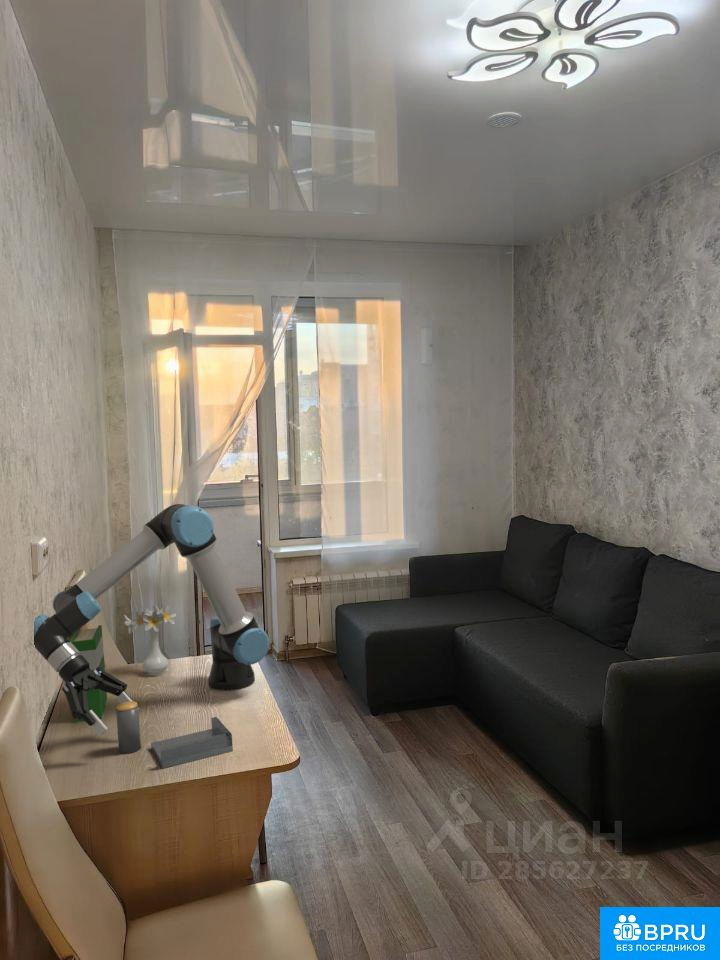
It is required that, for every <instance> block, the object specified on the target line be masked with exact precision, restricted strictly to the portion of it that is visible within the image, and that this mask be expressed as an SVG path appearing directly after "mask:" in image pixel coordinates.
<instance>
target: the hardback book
mask: <svg viewBox="0 0 720 960" xmlns="http://www.w3.org/2000/svg"><path fill="white" fill-rule="evenodd" d="M70 637H71V638H70V639H69V641H70V642H71V643H72V644H73V645H74V646H75V647H76V649H77V650H78V651H79V652H80V655H82V656H83V657H84V658H85V659H86V660H87V661H88V662H89V668H90V669H91V670H92V671H94V670H96V668H97V667H98V666H99V667H101V668H102V669H103V670H104V671H105V672H106V667H105V666H106V664H105V663H106V662H105V653H104V652H105V651H104V650H105V649H104V639H103V626H102V625H101V624H100V625H98V626H97V627H95V628H88V629H86V628H85V629H81V628H80V629H79V630H78V631H76V632H75V633H74V634H73V635H71V636H70ZM97 682H98V681H97ZM75 691H76V689H75ZM87 701H88V712H89V711H90V710H92V711H93V712H94V713H95V714H96V715H97V717H98V718H99V719H100V720H103V719H102V718H103V714H104V712H105V711H104V710H105V708H106V704H107V701H108V692H105V691H102V690H100V689H93V690H90V691H88V692H87ZM80 722H81V723H82V722H86V721H85V720H84V719H83V718H82V719H81V720H79V719H78V718H76V719H75V718H74V723H80Z"/></svg>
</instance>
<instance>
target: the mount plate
mask: <svg viewBox="0 0 720 960" xmlns="http://www.w3.org/2000/svg"><path fill="white" fill-rule="evenodd" d="M210 720H211V721H210V722H211V728H210V729H205V730H202V731H197V732H196V731H195V732H191V733H188V734H185V735H184V734H183V735H180V736H175V737H172V738H166V739H163V740H158V741H154V742H150V746H151V747H150V748H151V751H152V752H153V754H154V755H155V757H156V759H157V761H158V763H159V765H160V766H161V768H162V769H167V768H170V767H174V766H179V765H183V764H186V763H191V762H194V761H199V760H204V759H206V758H210V757H215V756H220V755H222V754H226V753H231V752H233V751H234V749H233V748H234V746H233V734H232V732H230V730H229V728H227V727H226V726H225V725H224V723H223V722H222V721H221V720H220V719H219V718H218V717H217V716H214V717H211V719H210Z"/></svg>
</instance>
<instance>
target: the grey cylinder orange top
mask: <svg viewBox="0 0 720 960" xmlns="http://www.w3.org/2000/svg"><path fill="white" fill-rule="evenodd" d="M138 708H139V705H138V702H137V701H133V700H132V701H129V702H123V703H120V702H119V704H117V705H116V709H115V714H116V715H115V716H116V727H117V729H116V730H117V741H118V742H117V743H118V752H119V753H120V754H124V755H125V754H126V755H127V754H128V755H129V754H132V753H137V752H138V751H140V750H141V748H142V745H141V744H142V743H141V742H142V741H141V731H140V730H141V727H140V714H139V710H138Z"/></svg>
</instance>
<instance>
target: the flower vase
mask: <svg viewBox="0 0 720 960" xmlns="http://www.w3.org/2000/svg"><path fill="white" fill-rule="evenodd" d="M152 609H153V610H150V609H149V607H147V608H146V609H145V611H142V612H141V613H140V612H139V611H138V610H136V611H135V613H134V614H135V615H134V616H135V619H130V618H129V617H128V616H127V615H126V614H124V617H125V621H124V625H125V626H126V627H128V635H130V634H131V633H132V632H133V627H134V631H135V632H137V631H138V629H140V626H144V625H145V624H146V625H145V627H144V630H145V631H146V632H148V634H149V652H148V654H147V657H146V658H145V659H144V661H143V663H142V668H143V670H144V671H145V672H147V675H148V676H150V677H156V676H161V675H163V674H165V672H166V670H167V669H168V667H169V664H170V661H169V659H168V657H166V656H165V655H164V654H163V653H162V651H161V647H160V644H159V642H160V641H159V633H158V632H160V626H159V625H160V624H163V623H168V622H169V623H170V624H172V625H175V624H176V623H175V621H174V618H175V617H176V616H177V613H176V612H171V611H170V609H171V608H170V606H169V605H166V606H165V605H164V606H162V607H161V608H159V607H158V605H155V604H154V605H153V606H152Z"/></svg>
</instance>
